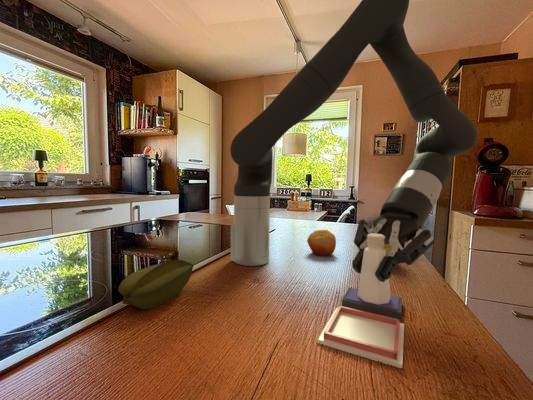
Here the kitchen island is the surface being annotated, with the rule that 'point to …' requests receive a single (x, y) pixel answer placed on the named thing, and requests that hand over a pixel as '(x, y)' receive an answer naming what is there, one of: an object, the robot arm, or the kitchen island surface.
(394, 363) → the pink and white tray
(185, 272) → the fruit
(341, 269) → the kitchen island surface
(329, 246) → the fruit
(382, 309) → the ink pad
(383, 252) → the pepper shaker
